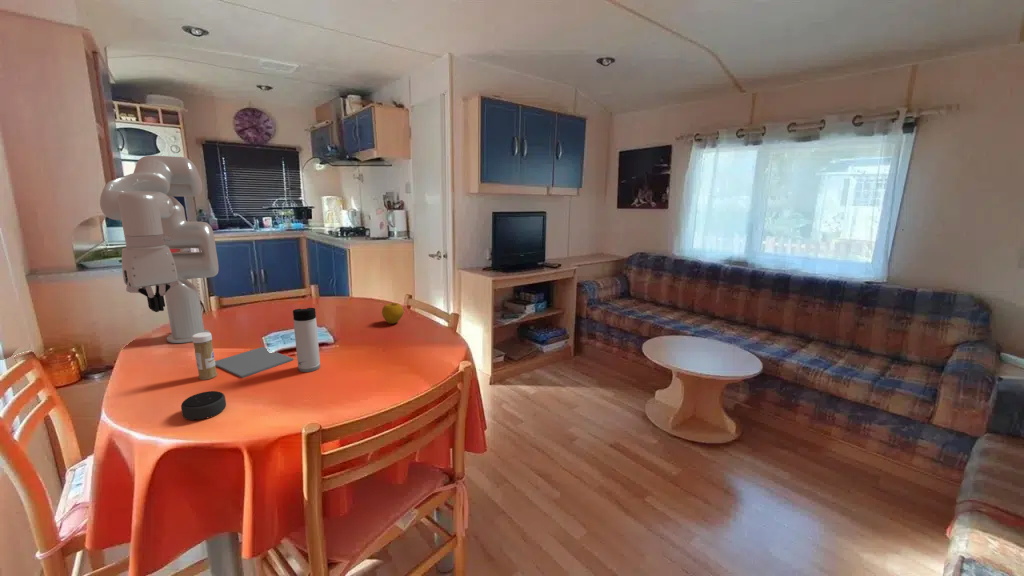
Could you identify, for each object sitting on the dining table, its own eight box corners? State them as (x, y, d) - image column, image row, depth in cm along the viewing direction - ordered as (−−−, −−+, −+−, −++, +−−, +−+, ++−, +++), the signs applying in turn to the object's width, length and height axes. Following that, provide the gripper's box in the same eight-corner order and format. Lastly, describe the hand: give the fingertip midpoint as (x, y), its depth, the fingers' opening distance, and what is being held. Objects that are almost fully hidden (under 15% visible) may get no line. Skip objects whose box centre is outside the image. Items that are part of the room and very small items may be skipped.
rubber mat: (211, 364, 131) (211, 362, 131) (262, 348, 144) (262, 346, 144) (242, 378, 122) (242, 376, 122) (293, 360, 136) (293, 358, 136)
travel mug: (298, 374, 126) (292, 311, 121) (298, 366, 131) (292, 306, 127) (320, 370, 129) (315, 309, 124) (319, 362, 134) (314, 304, 130)
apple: (400, 326, 171) (399, 306, 169) (379, 326, 171) (378, 305, 169) (406, 320, 180) (405, 300, 178) (386, 319, 180) (385, 299, 178)
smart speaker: (212, 422, 100) (210, 407, 99) (174, 422, 99) (171, 407, 98) (233, 403, 109) (232, 389, 108) (198, 403, 108) (196, 390, 107)
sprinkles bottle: (217, 378, 122) (210, 335, 119) (198, 381, 119) (190, 338, 116) (217, 372, 126) (211, 330, 122) (199, 375, 123) (192, 333, 120)
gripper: (173, 238, 113) (184, 302, 118) (100, 243, 101) (115, 315, 105) (186, 240, 110) (196, 306, 114) (112, 246, 97) (127, 320, 101)
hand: (157, 310), depth 109 cm, fingers closed
